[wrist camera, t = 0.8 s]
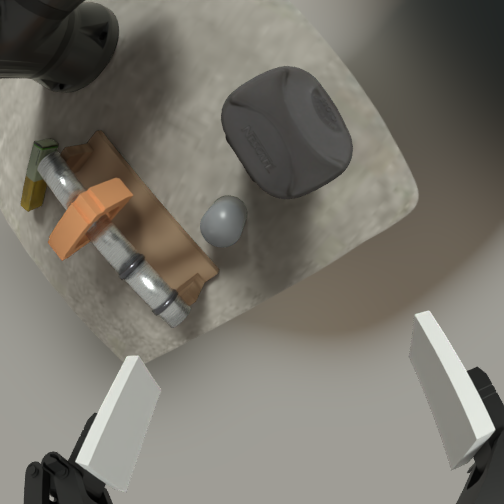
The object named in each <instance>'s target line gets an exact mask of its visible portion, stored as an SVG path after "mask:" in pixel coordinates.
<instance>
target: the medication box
mask: <svg viewBox="0 0 504 504" xmlns="http://www.w3.org/2000/svg"><path fill="white" fill-rule="evenodd" d="M57 149H58V143H57V142H56V141H54V140H52V139H46V140H39V141H34V144H33V148H32V152H31V156H30V160H29V164H28V168H27V173H26V177H25V182H24V187H23V193H22V199H21V206H22V207H23V208H24V209H25V210H27V211H28V212H29V211H31V210H33V209H35V208H38V207H40V206H42V204H43V199H44V195H45V191H46V187H47V183H46V182H45V181H44V179H43V178H42V176H41V175H40V173H39V172H38V170H37V168H38V165H39V164H40V162H41V161H42V160H43V159H44V158H45V157H46V156H47V155H48V154H50V153H52V152H55V151H57Z"/></svg>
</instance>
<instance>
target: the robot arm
mask: <svg viewBox="0 0 504 504" xmlns="http://www.w3.org/2000/svg"><path fill="white" fill-rule="evenodd" d="M84 1H85V0H0V78H29V79H33V80H34V81H36V82H38V83H39V84H41V85H42V86H44V87H46V88H47V89H49V90H52V91H55V92H73V91H76V90H79V89H81V88H83V87H85V86H86V85H88V84H89V83H90V82H92V81H93V80H94V79H95V78H96V77H97V76H98V75H99V74H100V73H101V72H102V70H103V69H104V68H105V66H106V65H107V63H108V62H109V60H110V58H111V56H112V54H113V52H114V49H115V47H116V43H117V39H118V31H119V30H118V21H117V18H116V16H115V15H114V13H113V12H112V11H111V10H110V9H108V8H106V7H104V6H103V5H101V4H98V3H93V2H84ZM409 358H410V360H411V363H412V365H413V367H414V370H415V372H416V374H417V377H418V379H419V381H420V384H421V386H422V388H423V391H424V393H425V396H426V398H427V401H428V404H429V406H430V409H431V411H432V414H433V417H434V419H435V422H436V425H437V428H438V430H439V433H440V436H441V439H442V442H443V445H444V448H445V451H446V454H447V458H448V461H449V464H450V467H451V470H453V469H456V468H458V467H460V466H462V465H464V464H467V463H468V462H469V461H470V460H471V459H472V458H473V457H474V460H475V463H474V464H473V465H472V466H471V467H470V468H469V470H468V472H467V473H470V472H471V473H470V475H469V478H468V480H467V482H466V485H465V487H464V489H463V491H462V493H461V495H460V497H459V499H458V501H457V503H456V504H504V405H503V403H502V401H501V399H500V397H499V395H498V394H497V393H496V390H495V388H494V386H493V385H492V383H491V381H490V379H489V377H488V376H487V374H486V373H485V372H483V371H482V370H481V369H480V368H478V367H476V368H473V369H471V370H468V371H466V370H465V368H464V366H463V364H462V363H461V361H460V359H459V357H458V356H457V354H456V352H455V351H454V349H453V347H452V346H451V344H450V342H449V341H448V339H447V337H446V336H445V334H444V333H443V331H442V329H441V328H440V326H439V325H438V323H437V322H436V320H435V318H434V317H433V316H432V314H431V312H430V311H425V312H422V313H418V314H415V315H414V324H413V332H412V340H411V347H410V353H409ZM160 393H161V389H160V387H159V386H158V384H157V383H156V381H155V380H154V378H153V377H152V375H151V374H150V372H149V371H148V369H147V368H146V366H145V365H144V363H143V361H142V360H141V358H140V357H139V356H127V357H126V359H125V361H124V363H123V365H122V367H121V369H120V371H119V372H118V374H117V376H116V378H115V380H114V382H113V384H112V386H111V388H110V390H109V392H108V394H107V396H106V398H105V400H104V402H103V404H102V406H101V408H100V410H99V412H98V413H94V414H93V415H92V416H91V417H90V418H89V419H88V421H87V423H86V425H85V427H84V430H83V431H82V433H81V437H79V439H78V441H77V443H76V446H75V448H74V450H73V452H72V454H71V456H70V458H69V460H68V461H67V460H66V459H65V458H63V457H62V456H61V455H60V454H58V453H57V452H49V453H48V454H47V455H45V456H44V458H43V459H42V462H41V464H40V463H39V462H32V463H31V464H29V465H28V467H27V469H26V474H25V487H24V504H113V503H112V501H111V499H110V496H109V493H108V491H107V489H106V488H104V487H105V485H106V484H107V485H108V486H110V487H111V488H113V489H116V490H119V491H123V492H127V489H128V485H129V482H130V479H131V476H132V473H133V470H134V467H135V464H136V461H137V458H138V455H139V452H140V449H141V446H142V443H143V440H144V438H145V435H146V432H147V429H148V426H149V423H150V420H151V418H152V415H153V412H154V409H155V407H156V404H157V401H158V398H159V396H160ZM49 495H51V496H52V497H54V501H53V502H52V501H51V500H49Z"/></svg>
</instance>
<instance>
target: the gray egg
mask: <svg viewBox="0 0 504 504" xmlns="http://www.w3.org/2000/svg"><path fill="white" fill-rule="evenodd" d="M246 218H247V209H246V206H245V205H244V203H243V202H242V201H241V200H240V199H239V198H237V197H234V196H223V197H220V198H219V199H217V200H216V201H215V202H214V204H213V205H212V206H211V207H210V208H209V210H208V211H207V212H206V213H205V214H204V216H203V217H202V219H201V223H200V229H201V233H202V235H203V237H204V239H205V240H206V241H207V242H208V243H210V244H211V245H213V246H216V247H228V246H231V245H233V244H234V243H236V242H237V241H238V239H239V238H240V236H241V233H242V230H243V227H244V224H245V221H246Z"/></svg>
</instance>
